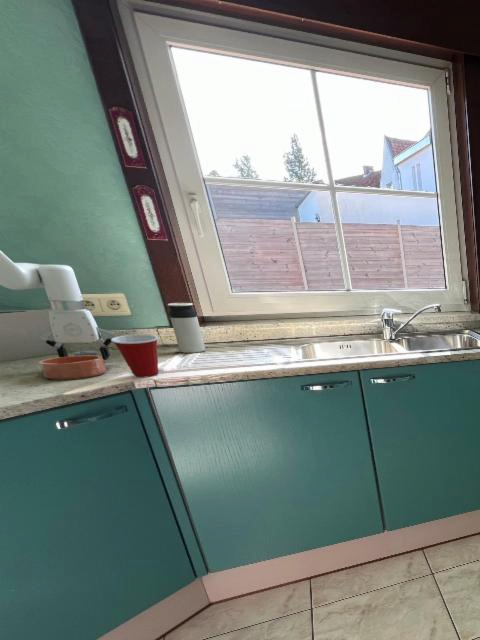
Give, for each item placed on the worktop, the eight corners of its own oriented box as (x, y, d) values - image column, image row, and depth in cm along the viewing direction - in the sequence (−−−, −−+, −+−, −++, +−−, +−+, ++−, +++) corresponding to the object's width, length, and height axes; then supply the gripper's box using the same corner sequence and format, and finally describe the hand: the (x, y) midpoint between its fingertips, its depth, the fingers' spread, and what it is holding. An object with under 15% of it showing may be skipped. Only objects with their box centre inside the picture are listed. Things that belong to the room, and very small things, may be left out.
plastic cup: (126, 381, 148) (112, 341, 144) (121, 374, 155) (108, 336, 150) (171, 375, 156) (160, 337, 151) (165, 370, 162) (154, 333, 158)
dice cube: (80, 367, 162) (74, 352, 161) (101, 365, 166) (95, 350, 164) (79, 369, 159) (74, 354, 157) (101, 367, 162) (95, 352, 160)
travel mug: (208, 351, 192) (196, 304, 186) (183, 354, 186) (169, 305, 180) (202, 348, 197) (189, 302, 190) (177, 351, 191) (163, 303, 184)
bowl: (37, 382, 144) (30, 365, 142) (55, 372, 155) (49, 356, 153) (99, 378, 150) (93, 362, 148) (112, 369, 161) (107, 354, 159)
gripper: (24, 307, 148) (44, 363, 154) (101, 307, 156) (118, 360, 162) (34, 305, 154) (54, 359, 160) (108, 304, 162) (124, 356, 168)
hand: (86, 359), depth 161 cm, fingers open, 9 cm apart
